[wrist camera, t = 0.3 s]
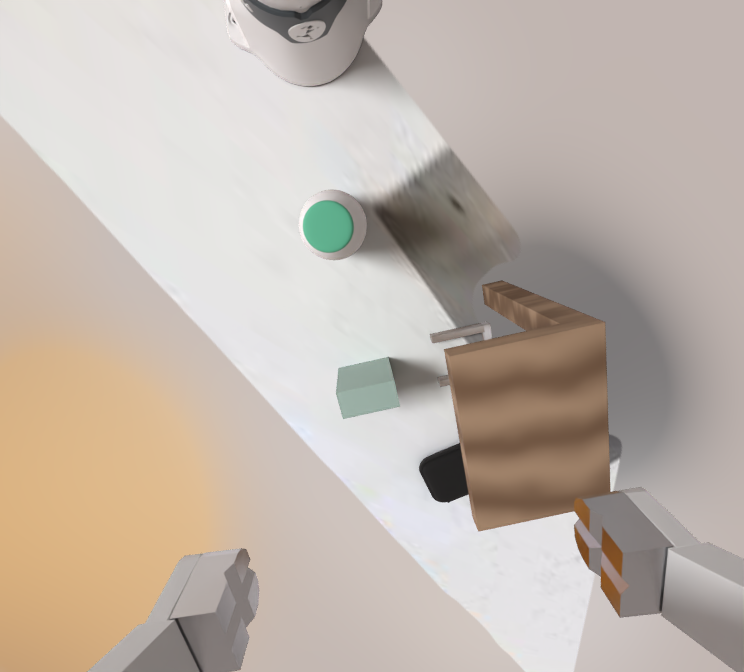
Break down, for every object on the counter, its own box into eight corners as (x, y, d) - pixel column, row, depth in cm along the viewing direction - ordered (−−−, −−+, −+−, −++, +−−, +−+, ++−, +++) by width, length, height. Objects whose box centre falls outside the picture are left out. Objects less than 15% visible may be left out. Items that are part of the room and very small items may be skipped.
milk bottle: (374, 237, 53) (385, 246, 34) (326, 262, 54) (311, 285, 35) (348, 185, 51) (345, 163, 32) (299, 211, 52) (267, 206, 33)
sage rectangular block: (338, 368, 59) (336, 393, 50) (388, 357, 59) (394, 380, 50) (344, 390, 60) (343, 419, 51) (393, 379, 60) (400, 406, 51)
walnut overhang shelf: (410, 301, 56) (449, 356, 33) (501, 280, 56) (605, 322, 33) (432, 416, 62) (478, 531, 39) (515, 398, 62) (610, 503, 39)
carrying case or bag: (436, 502, 68) (513, 471, 67) (440, 515, 65) (520, 483, 64) (414, 457, 65) (493, 424, 63) (416, 468, 62) (500, 434, 61)
